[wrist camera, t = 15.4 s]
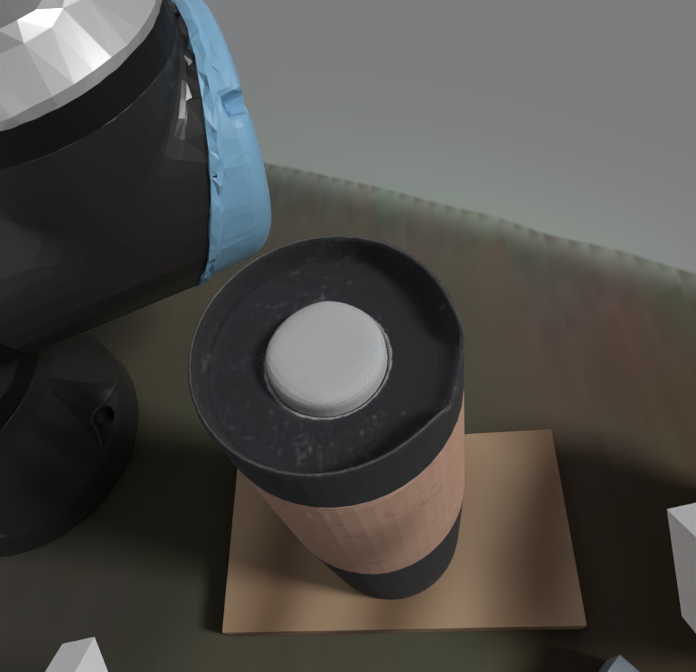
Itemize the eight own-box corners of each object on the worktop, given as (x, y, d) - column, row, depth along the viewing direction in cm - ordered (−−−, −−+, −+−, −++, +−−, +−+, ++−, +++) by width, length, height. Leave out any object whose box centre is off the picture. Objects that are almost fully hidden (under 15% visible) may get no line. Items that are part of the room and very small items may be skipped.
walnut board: (231, 635, 34) (222, 632, 32) (246, 456, 39) (239, 447, 38) (581, 629, 31) (586, 625, 30) (548, 439, 36) (551, 429, 35)
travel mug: (295, 507, 35) (142, 313, 18) (411, 435, 36) (369, 190, 19) (365, 637, 31) (254, 548, 14) (493, 553, 32) (531, 375, 15)
